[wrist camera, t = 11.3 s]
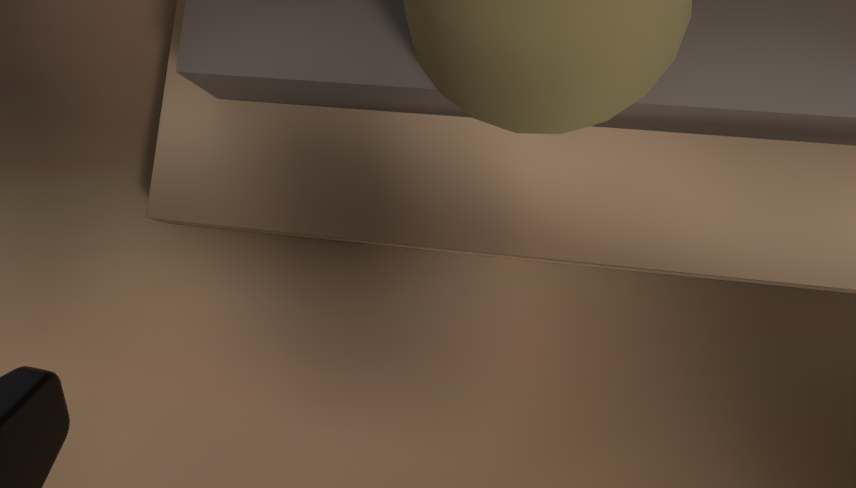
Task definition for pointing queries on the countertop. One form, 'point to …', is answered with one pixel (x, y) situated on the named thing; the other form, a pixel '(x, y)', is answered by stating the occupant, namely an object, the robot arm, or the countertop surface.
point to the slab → (520, 145)
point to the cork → (546, 56)
